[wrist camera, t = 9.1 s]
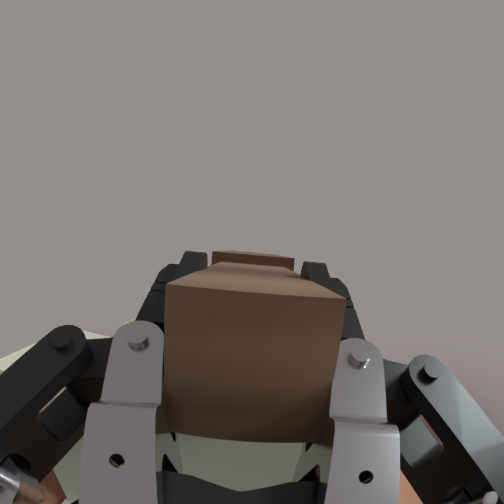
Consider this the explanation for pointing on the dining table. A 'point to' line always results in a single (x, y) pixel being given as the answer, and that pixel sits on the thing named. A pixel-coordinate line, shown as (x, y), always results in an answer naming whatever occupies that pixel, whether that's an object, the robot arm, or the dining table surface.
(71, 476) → the step stand
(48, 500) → the dining table surface
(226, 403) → the walnut leg
